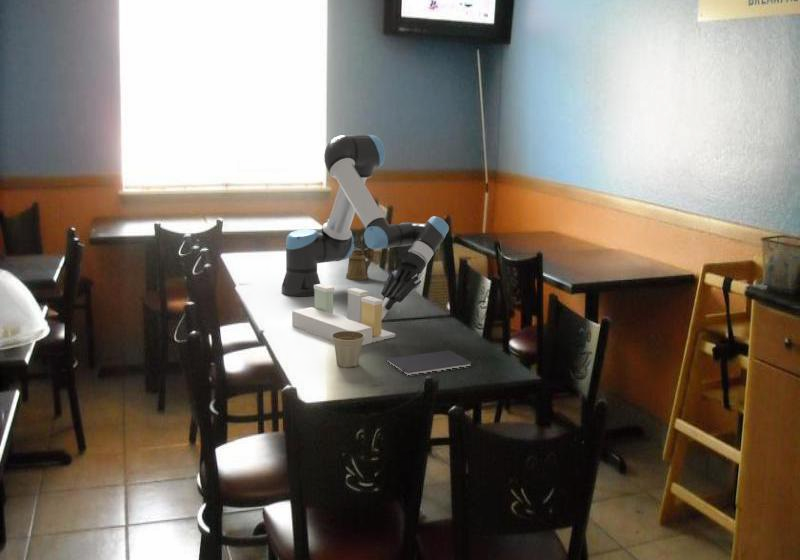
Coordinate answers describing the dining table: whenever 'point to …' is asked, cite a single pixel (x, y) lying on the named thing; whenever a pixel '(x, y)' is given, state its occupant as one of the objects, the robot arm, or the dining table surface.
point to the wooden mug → (359, 264)
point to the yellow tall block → (372, 313)
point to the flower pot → (347, 347)
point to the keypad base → (333, 325)
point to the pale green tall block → (324, 297)
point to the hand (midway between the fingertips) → (378, 316)
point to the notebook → (429, 362)
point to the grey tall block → (355, 304)
